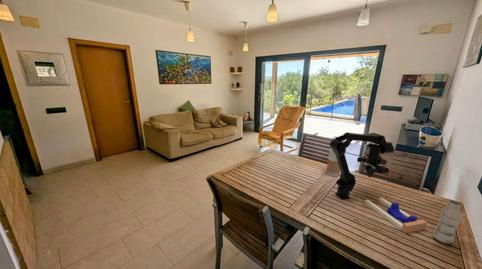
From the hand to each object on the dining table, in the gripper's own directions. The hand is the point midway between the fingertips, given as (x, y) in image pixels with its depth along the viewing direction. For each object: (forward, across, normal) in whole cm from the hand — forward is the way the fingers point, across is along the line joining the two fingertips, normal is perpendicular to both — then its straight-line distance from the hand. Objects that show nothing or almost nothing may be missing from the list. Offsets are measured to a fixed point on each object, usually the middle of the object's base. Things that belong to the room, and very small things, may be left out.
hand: (369, 176), depth 120 cm
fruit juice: (+13, +29, +4) cm, 32 cm away
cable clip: (+13, -24, 0) cm, 27 cm away
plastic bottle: (+13, -38, -6) cm, 41 cm away
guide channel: (+12, -19, +2) cm, 23 cm away
